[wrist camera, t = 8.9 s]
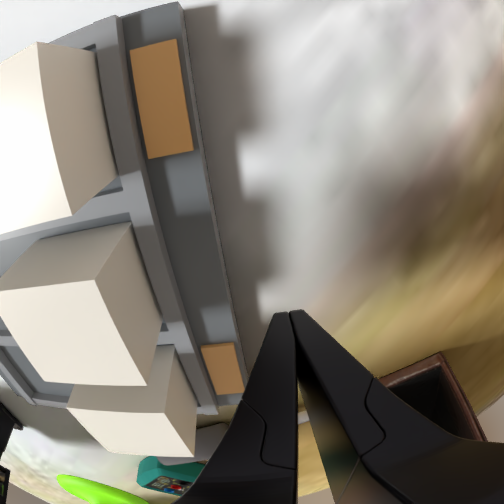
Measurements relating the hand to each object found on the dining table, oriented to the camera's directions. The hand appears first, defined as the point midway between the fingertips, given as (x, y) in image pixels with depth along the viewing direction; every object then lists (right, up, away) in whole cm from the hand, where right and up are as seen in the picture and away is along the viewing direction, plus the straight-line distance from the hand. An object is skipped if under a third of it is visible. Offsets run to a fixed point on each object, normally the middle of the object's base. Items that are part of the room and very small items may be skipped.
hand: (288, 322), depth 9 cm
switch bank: (-12, +1, +5) cm, 13 cm away
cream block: (-8, +1, +3) cm, 9 cm away
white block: (-7, -5, +7) cm, 11 cm away
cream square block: (-9, +7, 0) cm, 11 cm away
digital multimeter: (-6, -22, +18) cm, 29 cm away
